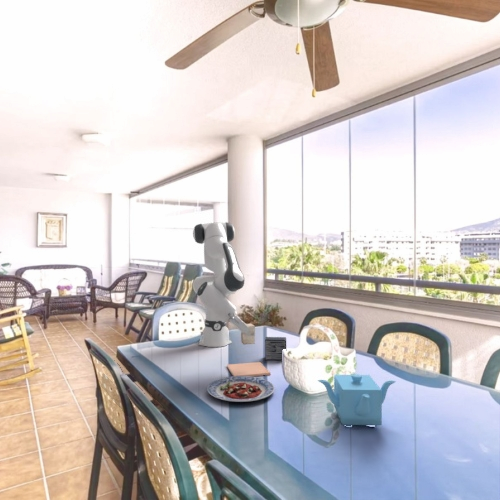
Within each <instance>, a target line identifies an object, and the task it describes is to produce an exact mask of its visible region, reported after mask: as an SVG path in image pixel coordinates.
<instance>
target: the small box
mask: <svg viewBox="0 0 500 500" xmlns="http://www.w3.org/2000/svg"><path fill="white" fill-rule="evenodd" d="M264 342H265V343H264V355H265V357H264V360H265V361H266V360H267V362H268V361H273V362H275V361H278V362H282V361H281V360H282V350H283V349H286V350H287V337H286V336H285V337H284V336H283V337H282V336H265V338H264Z"/></svg>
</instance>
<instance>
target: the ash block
mask: <svg viewBox="0 0 500 500" xmlns="http://www.w3.org/2000/svg"><path fill="white" fill-rule="evenodd" d="M245 324H246V325H247V326H248V330H249V331H250V332H251V335H250V336H248V335H247V334H246V333H245V332H244V333H242V332H241V331H240V342H241V344H242V345H255V344H256V342H255V341H256V338H255V336H256V335H255V334H256V333H255V332H256V331H255V330H256V328H255V327H256V326H255V325H254V324H253V323H245Z"/></svg>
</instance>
